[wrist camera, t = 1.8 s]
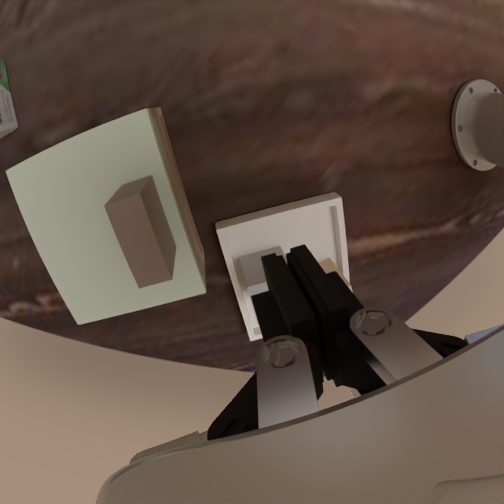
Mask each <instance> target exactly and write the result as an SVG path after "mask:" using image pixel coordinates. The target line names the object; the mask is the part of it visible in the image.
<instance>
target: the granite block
mask: <svg viewBox="0 0 504 504" xmlns="http://www.w3.org/2000/svg"><path fill="white" fill-rule="evenodd" d="M272 253H276V255H277V256H279V255H282V256H283V258H284V259H285V261H286V263H287V259H286V256H285V254H284V252H283V250H282V249H281V247H280V246H278V247H274V248H270V249H267V250H263V251H260V252H256V253H252V254H249V255H245V256H241V257H239V258H240V262H241V265H242V269H243V273H244V277H245V281H246V285H247V289H248V292H249V296H250V299H251V296H252V295H255V294H259V293H262V292H266V291H269V290H268V286H267V282H266V278H265V273H264V269H263V265H262V261H261V256H265V255H268V254H272ZM287 265H288V264H287ZM251 303H252V299H251ZM252 306H253V303H252ZM253 310H254V306H253ZM254 313H255V310H254ZM255 317H256V313H255ZM256 320H257V317H256ZM257 324H258V320H257Z"/></svg>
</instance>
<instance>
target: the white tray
mask: <svg viewBox="0 0 504 504" xmlns="http://www.w3.org/2000/svg"><path fill="white" fill-rule="evenodd" d="M215 225H216V231H217V235H218V238H219V241H220V245H221V248H222V251H223V255H224V258H225V261H226V264H227V268H228V271H229V274H230V277H231V281H232V284H233V287H234V290H235V294H236V297H237V300H238V303H239V306H240V310H241V313H242V316H243V319H244V322H245V325H246V328H247V332H248V335H249V338H250V341H253V340H257V339H260V338H263V337H262V334H261V330H260V327H259V324H257V320H256V317H255V313H254V310H253V306H252V303H251V299H250V296H249V292H248V289H247V285H246V281H245V277H244V273H243V269H242V265H241V262H240V258H239V257H241V256H245V255H249V254H252V253H256V252H260V251H263V250H267V249H270V248H274V247H278V246H280V247H281V249H282V250H283V252H284V254H285V256H286V253H289V252H290V248H293V247H296V246H300V245H303V244H305V245H306V246H307V248H308V249H309V250H310V252H311V253H312V255H313V256H314V257H315V259H316V260H317V261H318V263H319V262H321V261H323V260H326V259H328V258H331V260H332V261H333V262H334V264H335V265H336V266H337V267H338V269H339V270H340V271H341V273H342V274H343V275H344V277H345V278H346V279H347V281H348V282H349V283H350V281H349V267H348V254H347V243H346V233H345V223H344V214H343V205H342V197H341V196H339V195H338V194H337V193H335V192H331V193H327V194H323V195H319V196H315V197H311V198H307V199H303V200H299V201H295V202H291V203H287V204H283V205H279V206H275V207H272V208H268V209H264V210H260V211H256V212H253V213H249V214H245V215H241V216H238V217H234V218H230V219H227V220H223V221H219V222H216V223H215Z"/></svg>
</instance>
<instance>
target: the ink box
mask: <svg viewBox="0 0 504 504" xmlns="http://www.w3.org/2000/svg"><path fill="white" fill-rule="evenodd" d="M17 128H18V123H17V119H16V115H15V111H14V106H13V102H12V97H11V93H10V88H9V83H8V77H7V72H6V66H5V61H4V60H0V139H1V138H2V137H4V136H6V135H7V134H9V133H11V132H12V131H14V130H16V129H17Z"/></svg>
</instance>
